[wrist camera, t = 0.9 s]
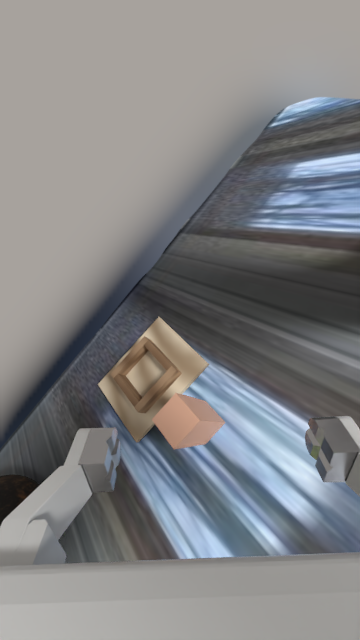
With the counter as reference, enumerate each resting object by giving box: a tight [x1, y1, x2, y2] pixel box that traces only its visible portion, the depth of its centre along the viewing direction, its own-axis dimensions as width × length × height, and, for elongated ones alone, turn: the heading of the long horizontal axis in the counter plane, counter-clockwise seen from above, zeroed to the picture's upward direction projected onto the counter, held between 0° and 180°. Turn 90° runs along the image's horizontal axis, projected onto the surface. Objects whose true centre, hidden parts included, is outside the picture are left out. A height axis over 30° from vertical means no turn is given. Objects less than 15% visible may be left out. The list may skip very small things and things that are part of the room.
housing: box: [98, 317, 209, 442], centre depth 47 cm, size 18×14×3 cm
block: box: [152, 393, 225, 449], centre depth 37 cm, size 4×4×12 cm
